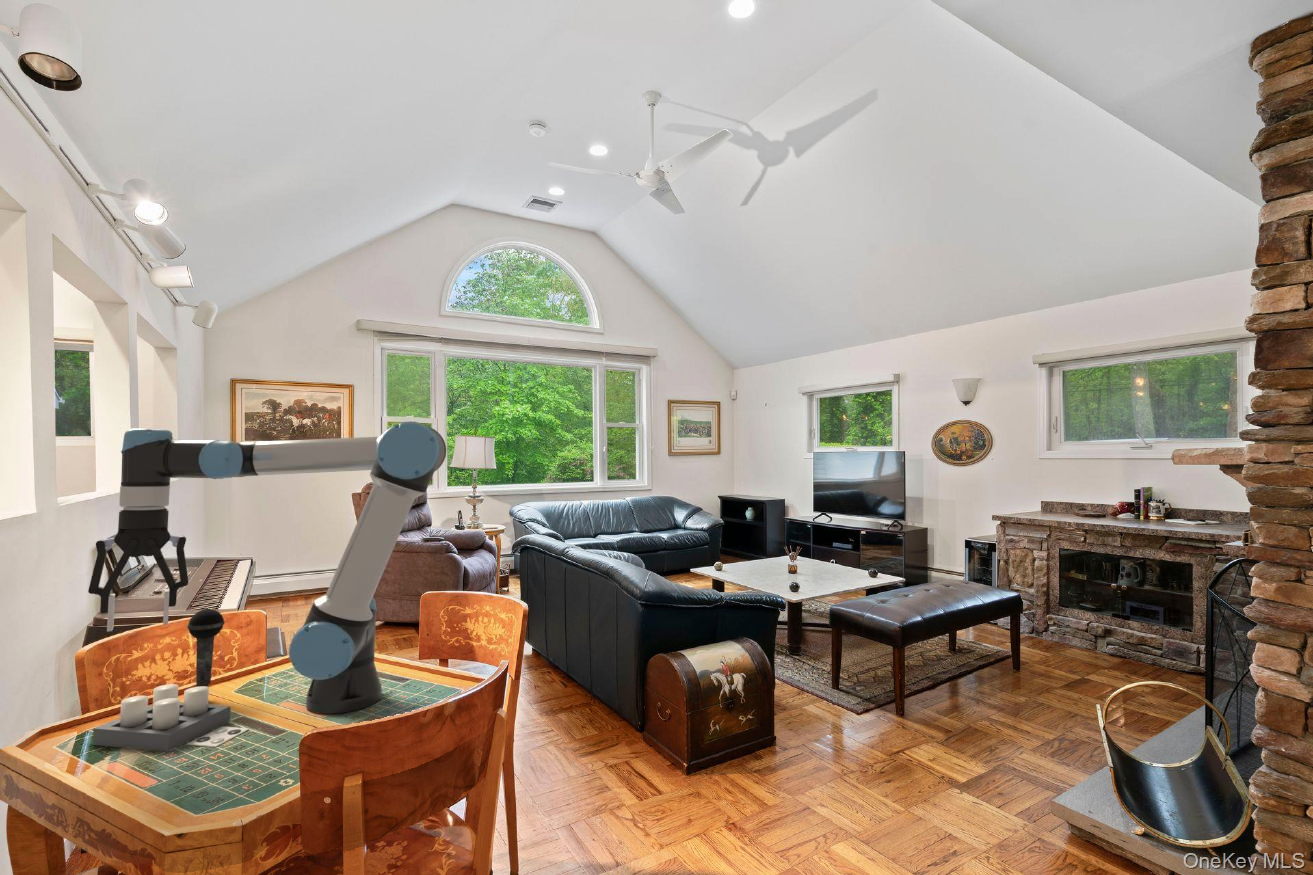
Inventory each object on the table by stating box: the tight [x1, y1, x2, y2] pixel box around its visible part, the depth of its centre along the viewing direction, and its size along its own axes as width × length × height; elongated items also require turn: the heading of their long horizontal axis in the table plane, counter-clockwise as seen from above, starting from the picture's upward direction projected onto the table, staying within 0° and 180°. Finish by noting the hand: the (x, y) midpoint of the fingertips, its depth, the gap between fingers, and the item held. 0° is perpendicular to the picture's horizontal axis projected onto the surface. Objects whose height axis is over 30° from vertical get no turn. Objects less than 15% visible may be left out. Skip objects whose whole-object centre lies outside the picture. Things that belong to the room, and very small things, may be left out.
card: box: [186, 725, 250, 748], centre depth 122 cm, size 6×8×1 cm
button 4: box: [183, 686, 210, 717], centre depth 126 cm, size 4×4×4 cm
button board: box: [92, 701, 232, 752], centre depth 123 cm, size 16×14×3 cm
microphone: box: [186, 608, 226, 687], centre depth 141 cm, size 7×7×20 cm
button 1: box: [119, 695, 149, 728], centre depth 121 cm, size 4×4×4 cm
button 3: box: [152, 697, 181, 730], centre depth 120 cm, size 4×4×4 cm
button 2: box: [152, 683, 179, 713], centre depth 127 cm, size 4×4×4 cm
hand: (138, 626), depth 122 cm, fingers open, 8 cm apart
